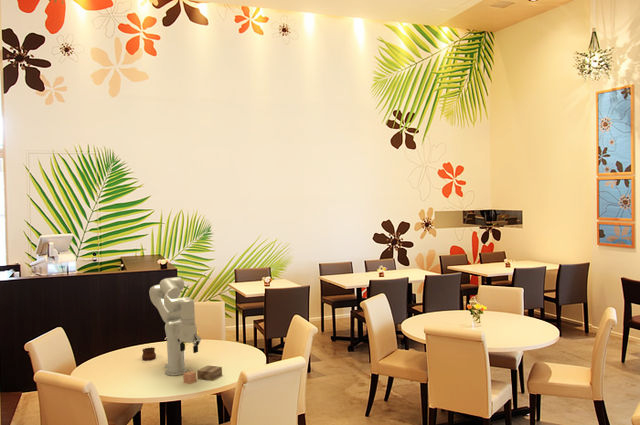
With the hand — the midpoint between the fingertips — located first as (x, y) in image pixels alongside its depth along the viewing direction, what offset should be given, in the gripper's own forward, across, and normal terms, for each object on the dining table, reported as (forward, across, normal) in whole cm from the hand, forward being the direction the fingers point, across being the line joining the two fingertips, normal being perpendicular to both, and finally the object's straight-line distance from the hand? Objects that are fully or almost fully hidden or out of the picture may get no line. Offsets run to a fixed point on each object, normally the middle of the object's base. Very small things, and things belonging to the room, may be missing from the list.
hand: (189, 351), depth 294 cm
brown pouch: (+17, -57, +23) cm, 64 cm away
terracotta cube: (+17, 0, 0) cm, 17 cm away
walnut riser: (+17, +5, +11) cm, 21 cm away
